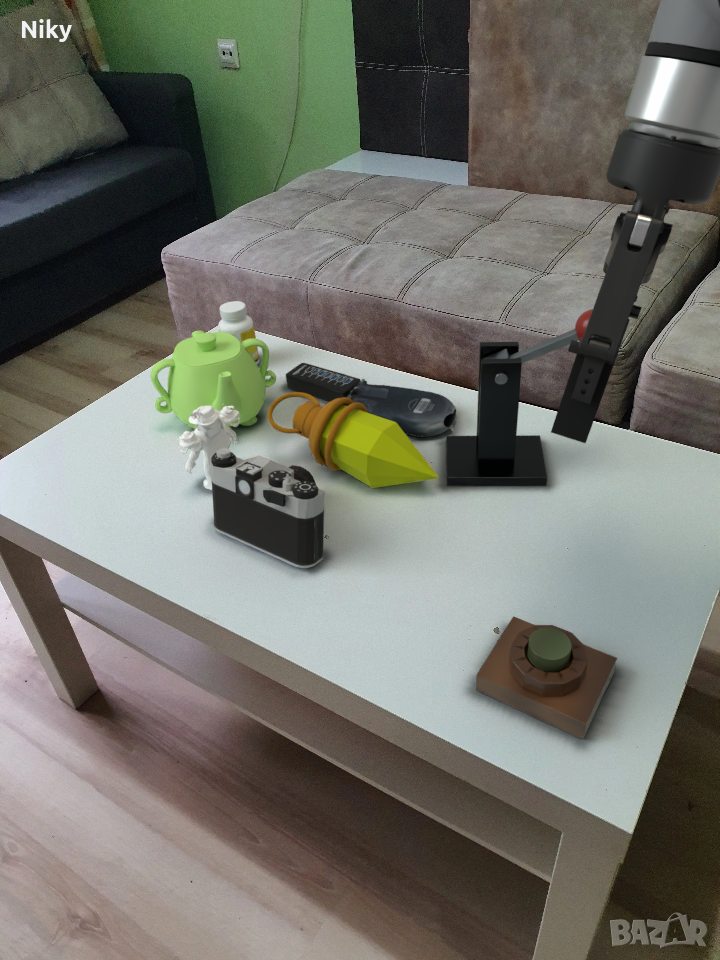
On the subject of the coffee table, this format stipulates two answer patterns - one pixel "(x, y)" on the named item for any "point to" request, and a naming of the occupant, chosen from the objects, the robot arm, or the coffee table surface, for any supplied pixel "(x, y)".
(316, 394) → the multiport hub
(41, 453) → the coffee table surface
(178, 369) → the teapot
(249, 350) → the supplement bottle
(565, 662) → the button
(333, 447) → the plumb bob
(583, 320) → the lever
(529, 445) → the bracket
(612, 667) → the button block
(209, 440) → the flower shoulder figurine
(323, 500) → the camera
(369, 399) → the electronic device
